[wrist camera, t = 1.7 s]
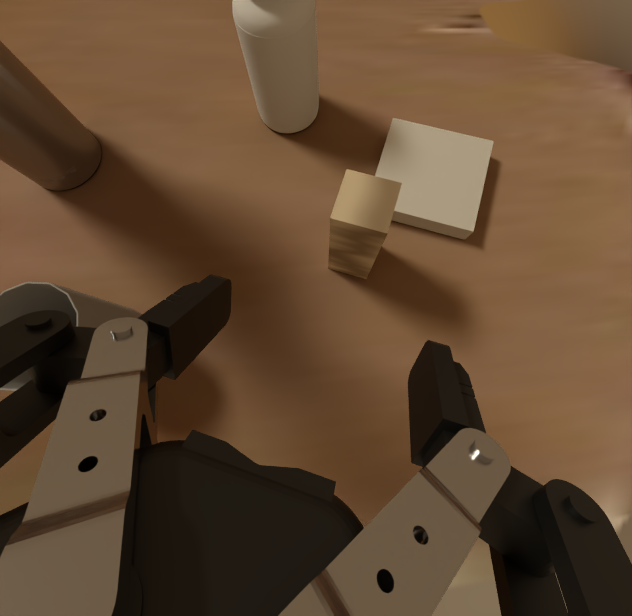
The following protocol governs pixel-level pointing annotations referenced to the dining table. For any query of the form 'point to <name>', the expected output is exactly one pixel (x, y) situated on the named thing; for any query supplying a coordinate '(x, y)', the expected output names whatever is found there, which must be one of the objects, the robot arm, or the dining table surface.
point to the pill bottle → (281, 59)
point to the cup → (57, 298)
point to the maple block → (360, 222)
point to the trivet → (435, 176)
